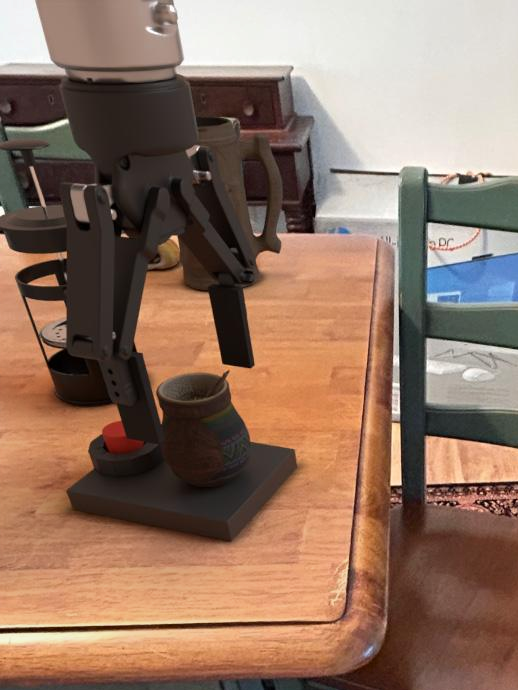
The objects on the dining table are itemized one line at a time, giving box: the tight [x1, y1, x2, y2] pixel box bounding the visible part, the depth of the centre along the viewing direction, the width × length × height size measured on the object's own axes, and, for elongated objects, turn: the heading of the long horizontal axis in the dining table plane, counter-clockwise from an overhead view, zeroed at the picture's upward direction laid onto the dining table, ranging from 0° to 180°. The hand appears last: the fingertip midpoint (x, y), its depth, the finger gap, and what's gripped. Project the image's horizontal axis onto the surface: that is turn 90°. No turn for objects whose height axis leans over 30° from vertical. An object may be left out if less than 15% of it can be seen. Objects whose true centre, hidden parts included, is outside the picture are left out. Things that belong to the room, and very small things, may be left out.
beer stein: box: [176, 115, 284, 291], centre depth 101 cm, size 15×11×20 cm
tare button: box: [101, 420, 144, 454], centre depth 63 cm, size 3×3×2 cm
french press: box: [0, 137, 138, 407], centre depth 72 cm, size 12×9×23 cm
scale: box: [65, 433, 298, 542], centre depth 64 cm, size 16×12×4 cm
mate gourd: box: [155, 369, 251, 487], centre depth 59 cm, size 7×8×10 cm
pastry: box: [147, 238, 180, 271], centre depth 111 cm, size 9×7×4 cm
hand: (196, 399), depth 58 cm, fingers open, 13 cm apart
